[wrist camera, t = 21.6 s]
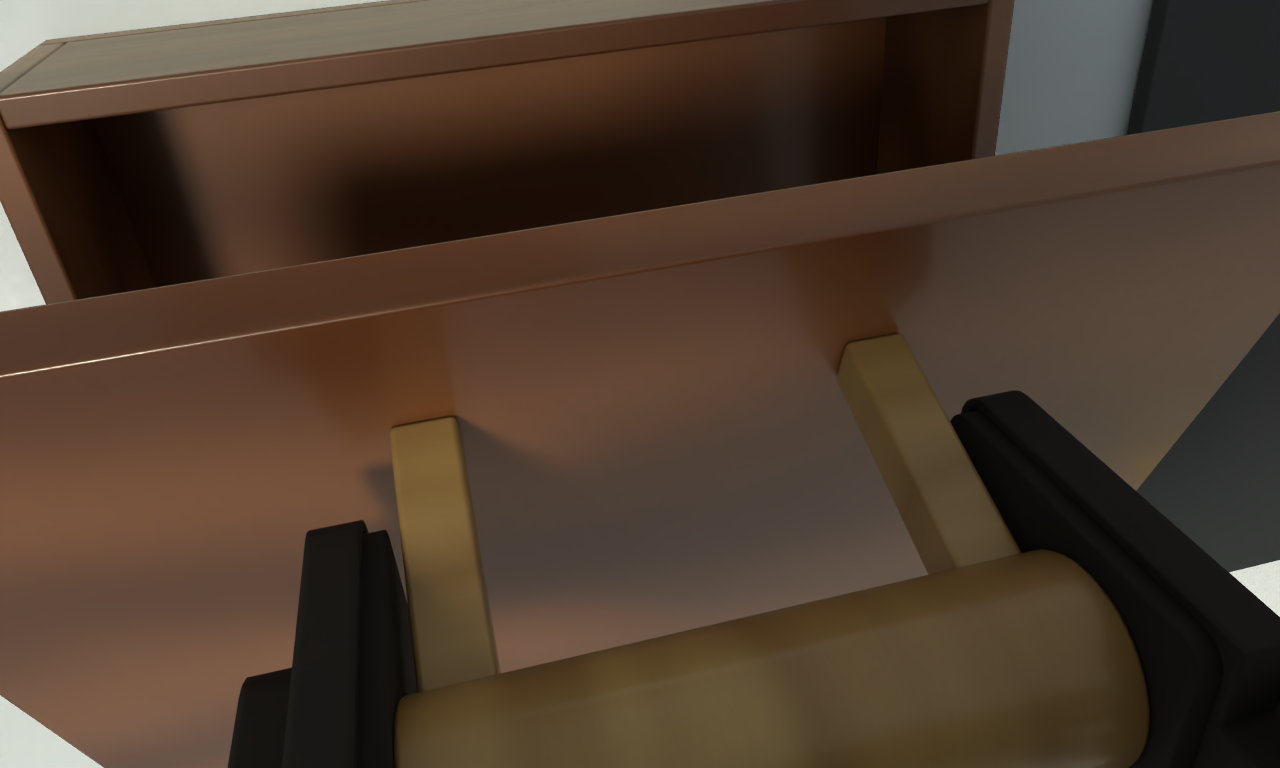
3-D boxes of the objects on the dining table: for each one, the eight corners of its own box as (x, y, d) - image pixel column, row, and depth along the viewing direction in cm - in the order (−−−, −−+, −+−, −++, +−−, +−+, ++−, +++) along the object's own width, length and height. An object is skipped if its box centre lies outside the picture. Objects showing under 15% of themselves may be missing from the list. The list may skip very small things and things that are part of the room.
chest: (43, 40, 18) (-46, 102, 14) (900, -60, 20) (1020, -30, 17) (305, 723, 28) (294, 867, 24) (857, 595, 30) (925, 707, 27)
